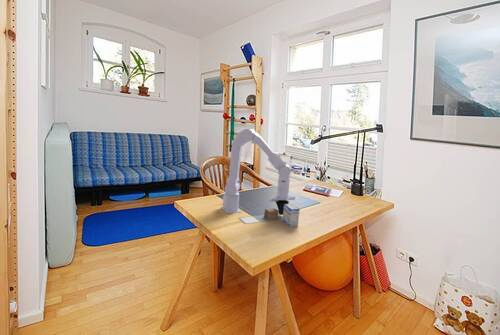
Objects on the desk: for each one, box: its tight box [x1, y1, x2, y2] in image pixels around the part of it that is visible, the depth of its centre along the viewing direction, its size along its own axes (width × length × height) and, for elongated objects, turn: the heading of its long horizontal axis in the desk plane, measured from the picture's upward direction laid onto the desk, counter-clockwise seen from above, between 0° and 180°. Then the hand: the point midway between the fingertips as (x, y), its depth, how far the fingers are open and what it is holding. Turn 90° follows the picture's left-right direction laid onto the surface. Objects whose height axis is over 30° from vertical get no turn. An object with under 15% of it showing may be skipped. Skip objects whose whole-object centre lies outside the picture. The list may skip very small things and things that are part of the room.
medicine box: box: [281, 203, 300, 228], centre depth 130 cm, size 8×4×9 cm, turn 21°
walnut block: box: [263, 207, 279, 220], centre depth 137 cm, size 5×5×4 cm
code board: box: [237, 214, 283, 225], centre depth 135 cm, size 8×21×1 cm, turn 117°
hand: (280, 214), depth 140 cm, fingers closed
